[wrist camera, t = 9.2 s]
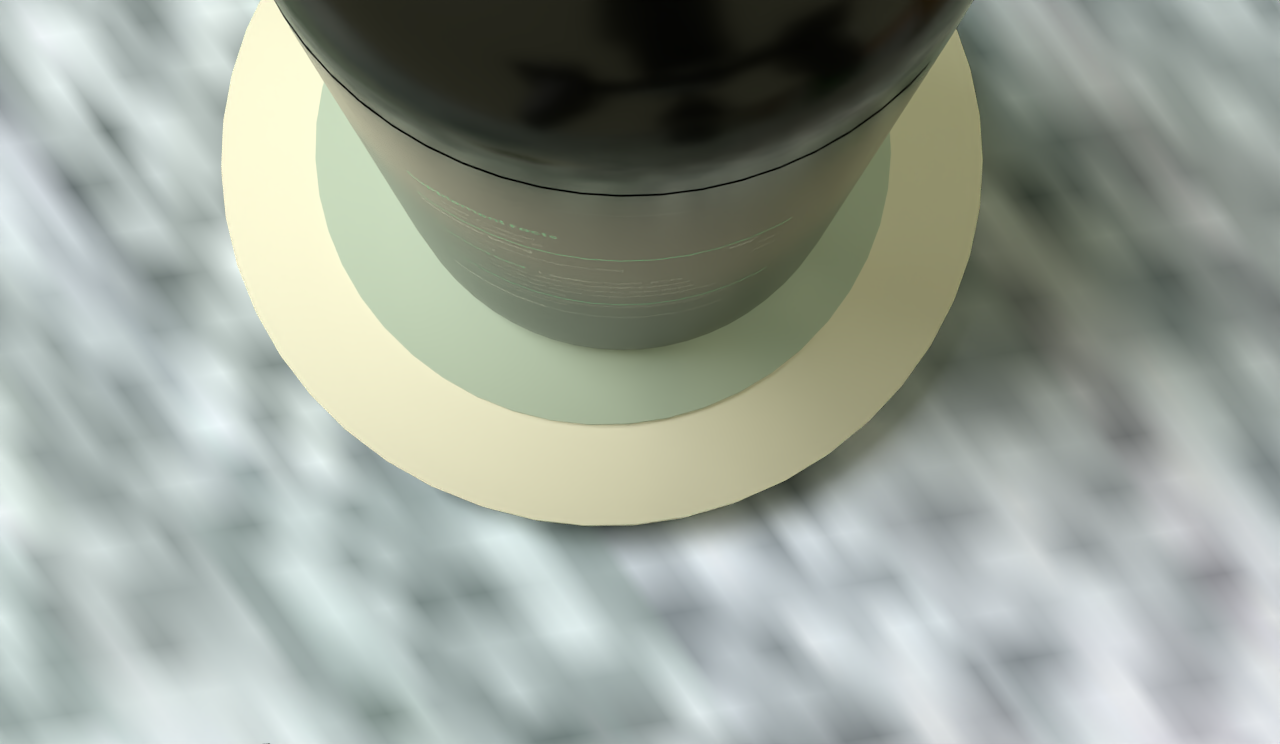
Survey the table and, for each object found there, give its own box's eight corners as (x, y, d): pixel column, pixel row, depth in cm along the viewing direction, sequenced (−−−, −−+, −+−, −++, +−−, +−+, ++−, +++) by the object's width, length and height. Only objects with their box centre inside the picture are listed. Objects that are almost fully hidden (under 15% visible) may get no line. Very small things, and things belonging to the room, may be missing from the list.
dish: (630, -284, 20) (631, -343, 19) (1105, 193, 19) (1142, 166, 18) (99, 140, 19) (59, 109, 17) (576, 686, 17) (573, 697, 16)
